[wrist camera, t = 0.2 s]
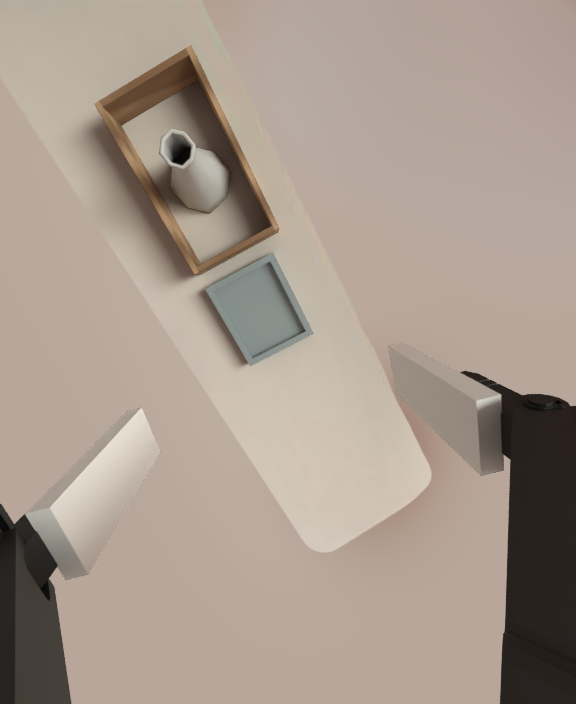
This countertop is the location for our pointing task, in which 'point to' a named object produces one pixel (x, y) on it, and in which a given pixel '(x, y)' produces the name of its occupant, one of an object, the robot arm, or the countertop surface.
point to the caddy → (115, 114)
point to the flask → (194, 172)
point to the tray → (260, 309)
